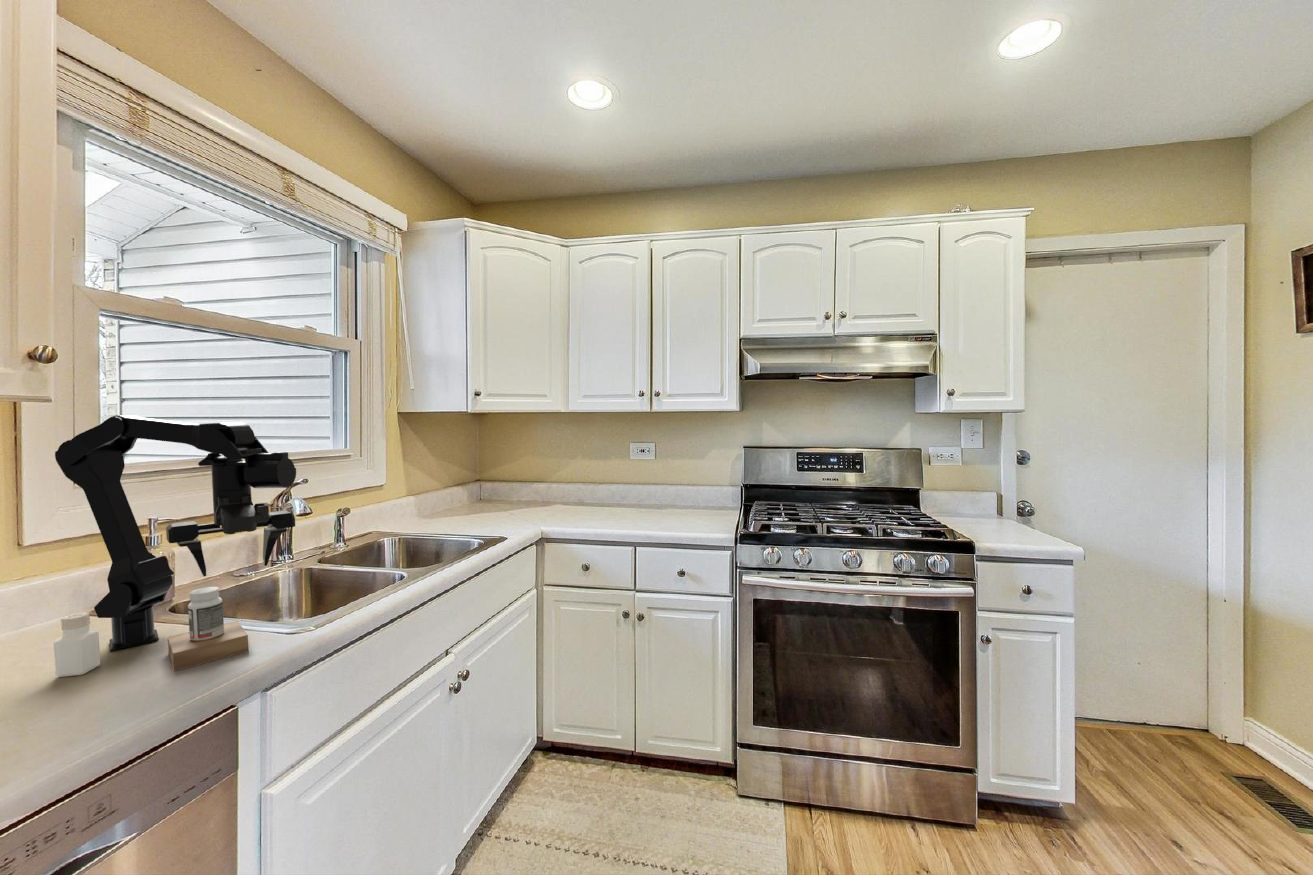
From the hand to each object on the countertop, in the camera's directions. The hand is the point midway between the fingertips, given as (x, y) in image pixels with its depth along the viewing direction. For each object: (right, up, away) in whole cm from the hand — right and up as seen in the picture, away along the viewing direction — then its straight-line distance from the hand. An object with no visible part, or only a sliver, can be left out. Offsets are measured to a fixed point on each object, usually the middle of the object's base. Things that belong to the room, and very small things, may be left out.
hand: (235, 570), depth 102 cm
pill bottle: (0, -10, -6) cm, 12 cm away
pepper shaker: (-16, -14, -12) cm, 25 cm away
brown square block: (0, -13, -6) cm, 14 cm away
